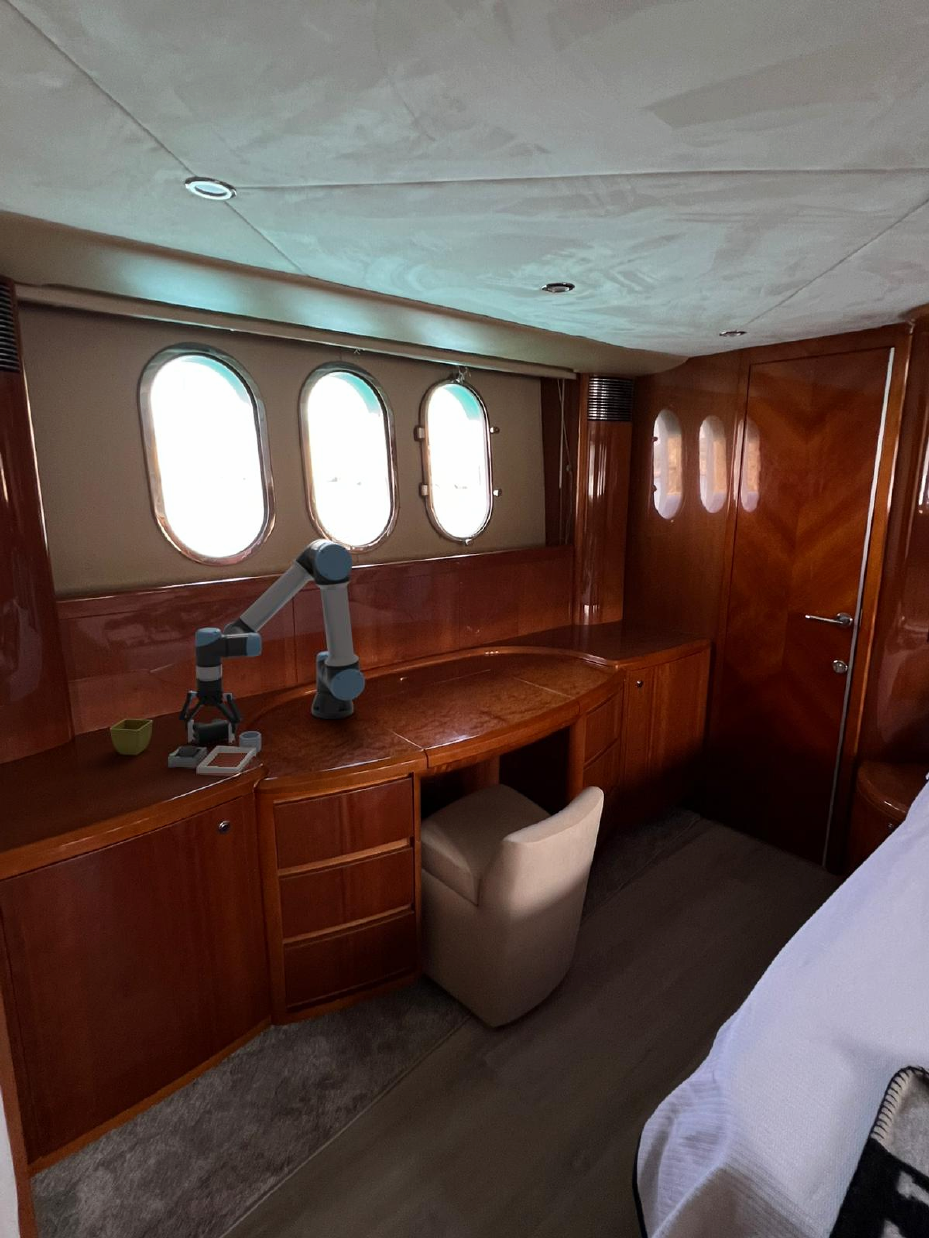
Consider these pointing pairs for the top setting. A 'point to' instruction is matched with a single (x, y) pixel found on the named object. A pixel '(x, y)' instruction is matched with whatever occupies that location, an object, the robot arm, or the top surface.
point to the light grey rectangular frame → (226, 749)
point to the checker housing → (186, 758)
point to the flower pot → (131, 735)
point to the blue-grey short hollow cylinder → (250, 740)
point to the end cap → (210, 731)
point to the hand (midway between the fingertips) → (211, 741)
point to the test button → (187, 751)
